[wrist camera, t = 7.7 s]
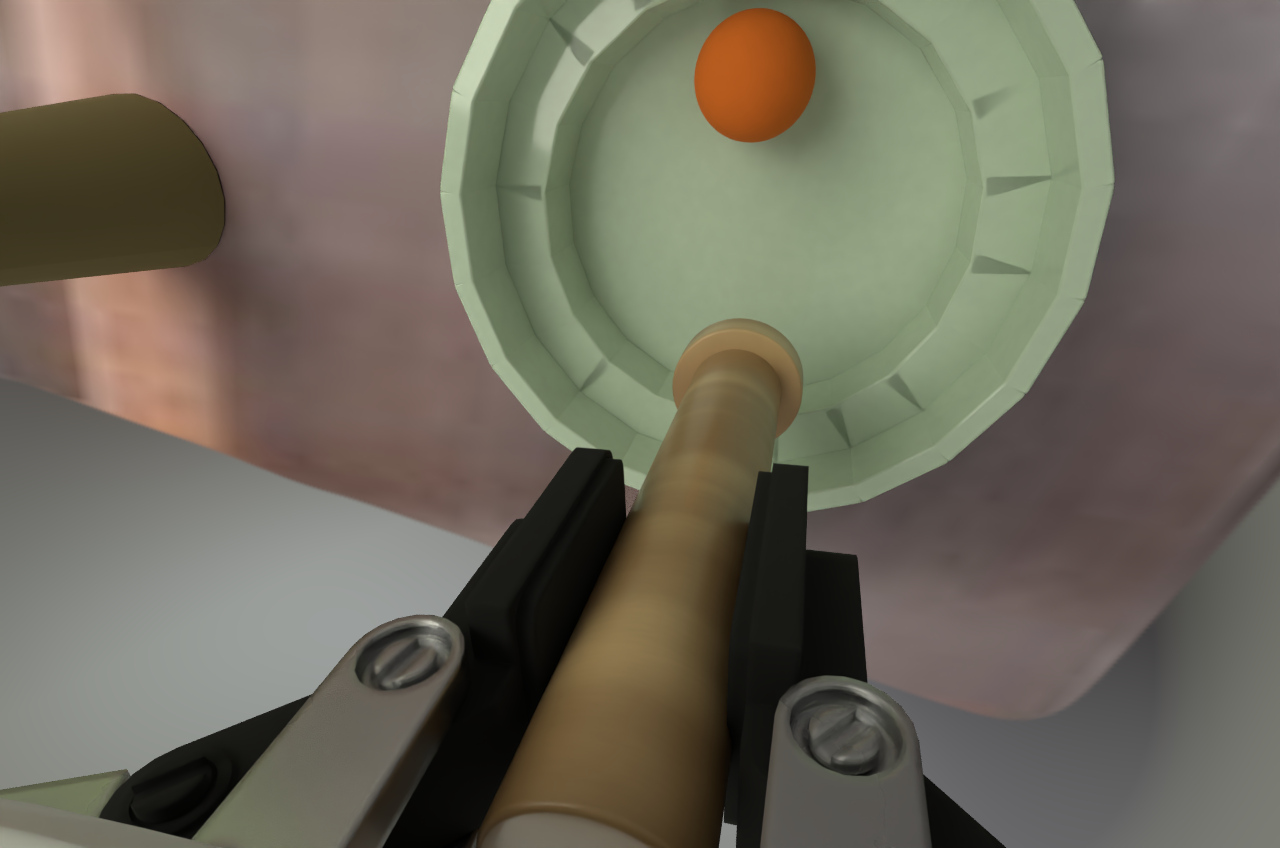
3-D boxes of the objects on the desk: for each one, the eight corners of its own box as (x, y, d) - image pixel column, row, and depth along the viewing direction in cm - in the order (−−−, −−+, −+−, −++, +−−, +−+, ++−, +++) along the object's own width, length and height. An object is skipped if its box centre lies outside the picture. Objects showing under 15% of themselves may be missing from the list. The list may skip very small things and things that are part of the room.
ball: (703, 18, 18) (684, 5, 15) (820, 10, 17) (820, -5, 15) (703, 140, 19) (685, 148, 17) (811, 137, 19) (810, 144, 16)
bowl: (489, -74, 19) (388, -125, 14) (1107, -140, 15) (1223, -234, 11) (543, 421, 25) (485, 489, 21) (984, 453, 22) (1025, 542, 17)
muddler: (678, 315, 17) (393, 732, 6) (807, 319, 16) (777, 808, 5) (679, 429, 18) (450, 952, 7) (799, 437, 18) (759, 1035, 6)
